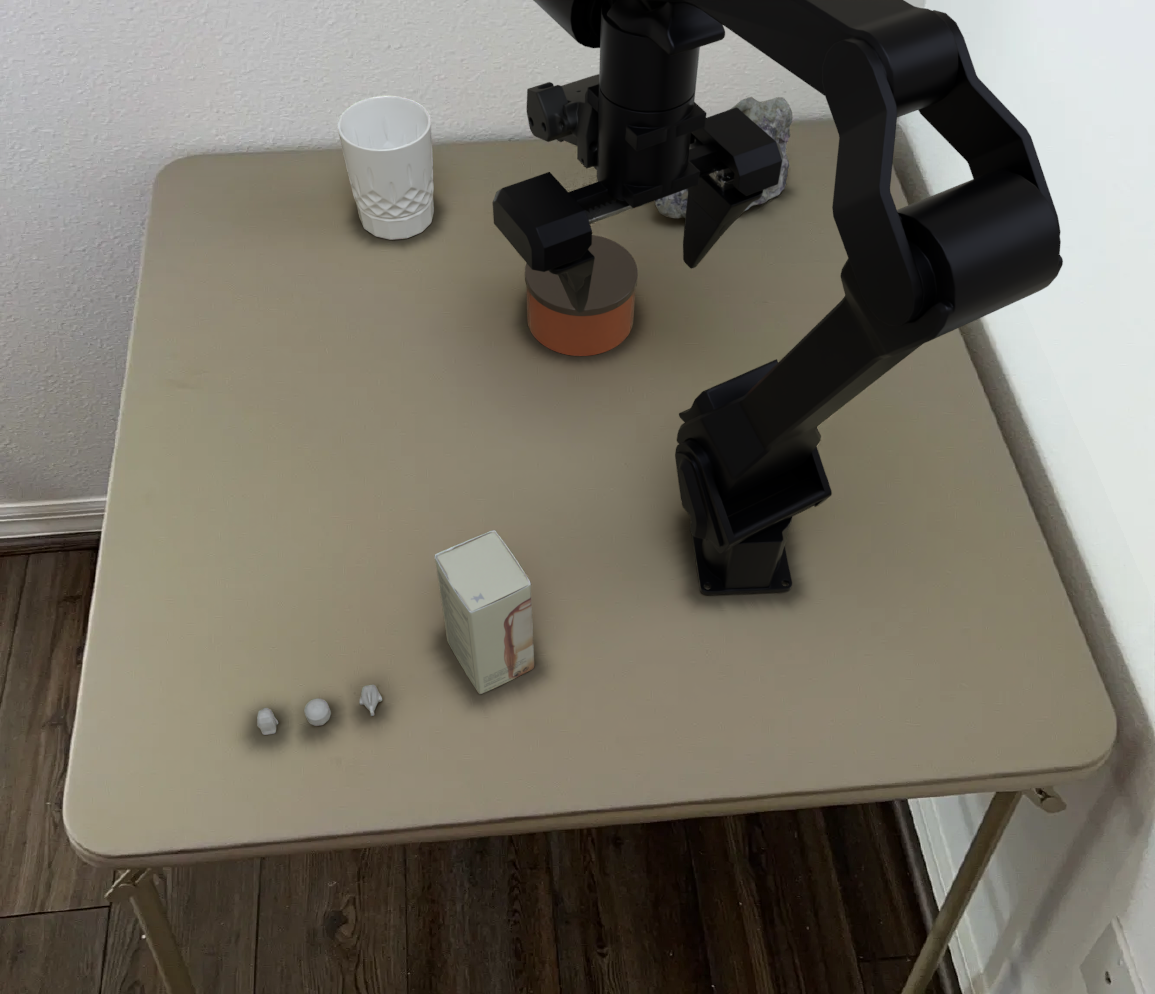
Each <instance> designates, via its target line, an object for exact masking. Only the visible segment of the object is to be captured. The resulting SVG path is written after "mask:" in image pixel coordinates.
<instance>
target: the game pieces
mask: <svg viewBox="0 0 1155 994" xmlns="http://www.w3.org/2000/svg"><path fill="white" fill-rule="evenodd" d="M382 701H383V697H382V696H381V694H380V692H379V689H378V687H377V686H376V684H374V683H373V684H368V685H364V686H362V689H361V693H360V697H359V700H358V703H359V705H360V706H365V708H366V709H367V710H368V711H369V714H370V716H371V717H374V716H375V714H376V713H375V710H376V708H377V705H378V703H380V702H382ZM331 715H332V711H331V709H330V706H329V703H328V702H327V701H326V700H325V699H324V698H320V697H319V698H318V697H316V698H313V699H311V700H309V701H308V702H307V703H306V704H305V706H304V716H305V717H306V720H307V722H308V723H309V724H310V725H312V726H314V727H318V726H324V725H325V724H326V723H328V721H329V720H330V719H331ZM277 725H279V721H278V719H277V718H276V717H275V714H274V712H273V710H272V709H271V708H268V707H262V709H259V711H258V712H257V718H256V726H257V728H259V729H260V732H261V733H262V735H264V736H267V735H268V736H269V735H273V734H275V733H277Z"/></svg>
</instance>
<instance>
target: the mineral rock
mask: <svg viewBox="0 0 1155 994" xmlns="http://www.w3.org/2000/svg"><path fill="white" fill-rule="evenodd" d="M736 107H737V108H739V109H740V110H741V111H742V112H743V113H744V114H745V115H747V116H748V117H749V118H750V119H751V120H752V121H753V122H755V123H756V124H757V125H758V126H759V127H760V128H761V129H763V130H764V131H765V132H766V133H767V134H768V135H769V136H771V137H772V138H773V139H774V140H775V141H776V142H777V143H779V144H780V147H781V151H782V154H783V162H782V168H781V173H780V178H779V182H778V184H777V185H775V186H772V187H769V188H767V189H764V190H763V194H762V196H761V198H760V199H758V200H756V201H754V202H752V203H751V204H750V205H749V206H748V207H747V208H746V210H745V211H748V210H749V209H750V208H751V207H753V206H756V205H762V204H765V203H767V201H769V200H771V199H773V198H776V197H777V196H779V195H780V194H781V193H782V192H783V191H784V190H785V188H786V186H787V178H788V173H789V168H790V161H789V155H788V154H787V145H788V142H789V138H790V137H791V129H790V128H791V125H792V122H793V110H792V108H791V106H790V104H789V102H788V101H787V99H786V98H785V97H783V96H777V97H773V98H770V99H767V100H763V101H762V100H761V101H759V100H758V99H756V98H754V97H753V96H749V97H745V98H743V99H741V100H740V101H738V102H737V103H736V104H735V105H734V106H733V107H731V108H729V109H728V110H730V109H733V108H736ZM687 197H688V189H685V190H683V191H680V192H677V193H674V194H672V195H669V196H666V197H664V198H661V199H658V200H655V201H654V206H655V207H656V208H657V211H658V213H659V214H660V215H662V216H664V217H667V218H670V219H671V218H672V219H681V218H684V219H685V217H686V207H687ZM745 211H744V212H745Z"/></svg>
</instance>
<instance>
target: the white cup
mask: <svg viewBox="0 0 1155 994" xmlns="http://www.w3.org/2000/svg"><path fill="white" fill-rule="evenodd" d="M336 124H337V125H336V127H337V133H338V138H339V141H340V146H341V150H342V154H343V159H344V163H345V164H344V165H345V168H346V173H347V175H348V180H349V183H350V184H349V185H350V187H351V191H352V196H353V200H354V201H355V203H356V209H357V213H358V217H359V219H360V222H361V225H362V227H363V229H364V230H365V231H367V232H368V233H370V234H371V235H373V236H374V237H377V238H381V239H386V240H390V241H392V240H393V241H394V240H404V239H409V238H412V237H414V236H417V235H419V234H421V233H423V232H424V231H425V230H426V229H427V228H428V227H429V226H430V225H431V224H432V221H433V218H434V213H435V204H434V184H435V183H434V182H435V181H434V155H433V137H432V134H433V133H432V117H431V115H430V113H429V111H428V109H427V108H426V107H425V106H424V105H422V104H421V103H419V102H417V101H416V100H413V99H411V98H408V97H404V96H401V95H400V96H399V95H388V94H387V95H386V94H385V95H376V96H370V97H366V98H363V99H361V100H358V101H356V102H354V103H352V104H350V105H349V106H348V107H346V108H345V109H344V110H343V111H342V113H340V115H339V117H338V119H337V123H336Z"/></svg>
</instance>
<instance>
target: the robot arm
mask: <svg viewBox="0 0 1155 994" xmlns="http://www.w3.org/2000/svg"><path fill="white" fill-rule="evenodd" d="M532 1H533V2H534V3H535V4H536V5H537V6H539V7H540V9H542V10H543V11H544V12H545V13H546V14H547V15H548V16H549V17H550V18H551V19H552V20H553V21H554V22H555V23H557V24H558V25H559V27H561V28H562V29H563V30H564V31H565V32H566V33H567V34H568V35H569V36H570V37H571V38H572V39H573V40H574V41H576V43H578V44H579V45H581V46H583V47H585V48H590V49H599V66H598V67H599V69H598V70H599V73H598V74H594V75H591V76H587V77H585V78H581V79H578V80H575V81H572V82H569V83H565V84H562V85H560V84H556V85H554V83H553V82H551V81H548V82H547V81H546V82H544V83H542V84H539V85H534V86H532V87H528V88H527V90H526V116H527V121H528V126H529V127H528V128H529V129H530V132H531V134H532V135H533V136H534V137H536V138H538V139H540V140H542V141H545V142H546V143H551V142H553V141H555V140H556V141H557V142H559V143H562V142H566V143H568V144H571V145H573V146H575V147H577V148H576V149H577V150H576V159H577V160H578V161H579V162H580V164H581V165H582V166H583V167H584V168H585V169H591V168H594V169H595V170H596V182H593V183H591V184H588V185H587V184H586V185H584V186H582V187H579V188H576V189H573V190H571V191H568V190H567V189H566V188H565V187H564V186H563V185H562V184H561V182H560V181H559V180H558V179H557V178H556V177H555V175H554V174H553V173H551V172H550V171H548V172H545V173H542V174H539V175H536V176H533V177H530V178H528V179H524V180H522V181H519V182H516V183H512V184H510V185H507V186H504V187H502V188H500V189H499V190H497V191H496V192H495V195H494V197H493V200H492V216H493V225H494V226H495V227H496V228H497V229H498V230H499V232H500V233H501V234H502V235H503V236H504V238H505V239H506V240H507V241H508V243H509V244H510V245H511V246H512V248H513V249H514V250H515V251H516V252H517V253H518V254H519V256H520V257H521V258H522V260H523V261H524V262H525V264H526V263H527V264H528V265H529V267H530V268H531V269H532V270H536V271H542V272H546V271H549V272H550V273H552V274H555V275H558V276H559V278H560V281H561V283H562V285H563V287H564V289H565V292H566V294H567V296H568V298H569V300H570V303H571V304H572V306H573V307H574V308H575V310H576V311H577V312H578V313H580V312H583V311H584V309H585V306H586V303H587V300H588V295H589V289H590V283H591V277H592V272H593V266H594V260H595V257H594V255H593V254H592V253H591V252H590V251H589V250H588V249H589V247H590V246H591V245H592V235H593V229H592V227H591V224H594V223H596V222H599V221H602V220H605V219H608V218H611V217H613V216H615V215H619V214H621V213H624V212H627V211H630V210H632V209H636V208H639V207H642V206H645V205H647V204H650V203H652V202H655V200H658V199H661V198H664V197H666V196H669V195H672V194H674V193H677V192H680V191H683V190H685V189H688V197H687V207H686V217H685V218H684V226H683V227H684V228H683V238H682V259H683V262H684V264H685V265H686V266H687V267H688V268H689V269H691V270H692V269H694V268H695V269H696V267H698V265H699V264H700V263H701V261H703V259H704V258H705V257H706V255H707V254H708V253H709V252H710V251H711V249H712V248H713V247H714V246H715V244H717V242H718V241H719V239H720V238H721V237H722V236H723V235H724V234H725V232H726V231H727V230H728V229H729V228H730V227H731V226H732V225H733V224H734V222H736V220H737V219H738V218H739V217H740V216H741V215H742V214H743V213H744V212H745V210H746V208H747V207H748V206H749V205H750V204H751V203H752V202H754V201H756V200H758V199H760V198H761V196H762V194H763V190H764V189H767V188H769V187H772V186H775V185H777V184H778V182H779V178H780V173H781V168H782V162H783V154H782V151H781V147H780V144H779V143H777V142H776V141H775V140H774V139H773V138H772V137H771V136H769V135H768V134H767V133H766V132H765V131H764V130H763V129H761V128H760V127H759V126H758V125H757V124H756V123H755V122H753V121H752V120H751V119H750V118H749V117H748V116H747V115H745V114H744V113H743V112H742V111H741V110H740V109H739V108H737V107H736V108H733V109H731V108H729V109H730V110H729V109H727V110H725V111H721V112H719V113H716V114H713V115H709V116H707V112H706V111H705V110H704V109H703V108H702V107H701V106H700V105H699V104H697V102H695V99H696V89H697V88H696V87H697V78H698V71H699V70H698V69H699V59H700V50H701V47H705V46H708V45H710V44H714V43H717V42H720V41H722V40H724V38H725V37H726V29H728V30H729V31H731V32H732V33H734V34H735V35H737V36H738V37H740V38H741V39H742V40H743V41H745V42H747V44H749V45H751V46H752V47H753V48H755V49H757V50H758V51H760V52H761V53H763V54H764V55H765V56H767V57H768V58H769V59H771V60H772V61H773V62H775V63H777V64H778V65H780V66H781V67H783V69H786V71H788V72H789V73H791V74H792V75H794V76H796V77H797V78H798V79H800V80H801V81H802V82H804V83H806V84H807V85H808V86H810V87H811V88H813V89H814V90H816V91H817V92H818V93H820V94H821V95H823V96H824V97H825V101H826V103H827V105H828V108H829V111H830V114H831V116H832V119H833V123H834V125H835V128H836V131H837V133H838V147H837V157H836V168H835V175H834V176H835V178H834V187H833V197H832V206H831V207H832V217H833V220H834V222H835V226H836V228H837V231H838V234H839V236H840V239H841V242H842V244H843V248H844V250H845V253H846V256H847V259H846V261H845V263H844V264H843V266H842V268H841V271H840V275H839V277H840V281H841V285H842V289H843V292H844V296H843V298H842V299H841V300H840V301H839V302H838V303H837V304H836V305H835V306H834V307H833V308H832V309H831V310H830V311H828V313H827V314H826V315H825V316H824V317H823V318H822V319H821V320H820V321H819V322H817V324H816V325H815V326H814V327H813V328H812V329H811V330H809V332H808V333H807V334H806V335H804V336H803V338H802V339H800V340H799V341H798V342H797V343H796V345H794V346H793V347H792V348H791V349H790V351H788V352H787V353H786V354H785V355H784V356H783V357H782V358H781V359H780V360H779V361H778V359H777V358H776V359H773V360H771V361H769V362H767V363H764V364H761V365H760V366H757V367H755V368H753V369H751V370H748V371H746V372H744V373H742V374H739V375H736V376H735V377H732V378H730V379H727V380H726V381H723V382H721V383H718V384H716V385H714V386H712V387H710V388H707V389H705V390H703V391H701V392H700V393H699V394H698V395H697V397H696V398H694V400H693V402H692V404H691V407H690V408H688V409H685V410H683V411H681V412H678V417H679V419H681V421H682V422H683V423H682V424H681V425H680V426H679V428H678V431H677V435H676V442H677V445H676V447H675V450H674V451H675V453H674V458H675V459H674V460H675V465H676V473H677V482H678V488H679V489H678V490H679V496H680V501H681V506H682V508H683V509H684V510H685V512H686V513H687V514H688V516H689V521H690V526H689V532H690V533H691V539H692V546H693V552H694V560H695V566H696V573H697V579H698V581H697V582H698V587H699V591H700V593H701V594H702V595H705V596H718V595H721V596H723V595H724V596H725V595H740V594H741V595H744V594H745V595H746V594H747V595H748V594H765V593H766V594H769V593H772V594H773V593H787V592H789V591H791V589H792V588H793V587H792V586H793V581H792V580H793V579H792V575H791V571H790V565H789V560H788V556H787V550H786V546H785V545H786V542H787V539H788V535H789V532H790V527H791V524H792V520H793V517H795V516H796V515H799V514H801V513H803V512H806V511H807V510H809V509H811V508H813V507H816V508H817V507H818V506H819V505H822V504H823V503H825V501H827V500H828V499H829V498H830V497H831V496H832V494H833V492H832V488H831V485H830V483H829V479H828V477H827V473H826V470H825V467H824V465H823V461H822V458H821V456H820V452H819V449H818V445H819V443H820V442H821V440H822V435H821V432H820V431H819V429H818V427H819V426H820V425H821V424H822V423H823V422H825V421H826V420H827V419H829V418H830V417H831V416H832V415H834V414H835V413H836V412H838V411H839V410H840V409H841V408H843V407H844V406H845V405H847V404H848V403H850V402H851V401H852V400H853V399H855V398H856V397H857V396H859V394H861V393H862V392H863V391H865V390H866V389H867V388H868V387H870V386H871V385H872V384H873V383H875V382H876V381H877V380H879V379H880V378H881V377H883V376H884V375H885V374H887V373H888V372H889V371H890V370H891V369H894V367H895V366H897V365H898V364H899V363H901V362H902V361H903V360H904V359H906V358H907V357H909V356H910V355H911V354H912V353H914V352H915V351H916V350H918V349H919V348H920V347H921V346H922V345H924V344H926V343H929V342H931V341H933V340H936V339H937V338H939V337H942V336H943V335H946V334H949V333H951V332H953V331H955V330H957V329H960V328H961V327H963V326H966V325H968V324H971V323H972V322H975V321H977V320H979V319H982V318H984V317H986V316H988V315H990V314H992V313H995V312H997V311H999V310H1001V309H1003V308H1006V307H1008V306H1010V305H1012V304H1014V303H1016V302H1019V301H1021V300H1023V299H1026V298H1027V297H1031V296H1032V295H1034V294H1036V293H1039V292H1041V291H1042V290H1044V289H1046V288H1047V287H1049V286H1050V285H1051V284H1052V283H1053V282H1054V280H1055V279H1056V278H1057V277H1058V276H1059V273H1060V272H1061V269H1062V267H1063V265H1064V260H1063V256H1061V242H1062V241H1061V227H1060V220H1059V216H1058V212H1057V210H1056V206H1055V204H1054V200H1053V198H1052V195H1051V193H1050V188H1049V186H1048V182H1047V180H1046V177H1045V174H1044V171H1043V168H1042V165H1041V161H1040V159H1039V157H1038V153H1037V150H1036V147H1035V145H1034V141H1033V139H1032V136H1031V134H1030V132H1029V131H1028V128H1027V127H1025V125H1023V123H1022V122H1020V120H1019V119H1018V118H1017V117H1016V116H1015V115H1014V114H1013V113H1012V112H1011V110H1009V109H1008V107H1007V106H1006V105H1005V104H1003V102H1002V101H1001V100H1000V99H999V98H998V97H997V96H996V95H995V94H994V93H993V91H991V89H989V87H987V85H986V84H985V83H984V82H983V81H982V80H981V79H980V77H978V74H977V72H976V69H975V66H974V63H973V60H972V58H971V55H970V51H969V48H968V46H967V43H966V40H965V36H964V35H963V33H962V31H961V29H960V27H959V25H958V23H957V22H956V21H955V20H954V19H953V18H952V17H951V16H950V15H949V14H948V13H947V12H943V11H940V10H936V9H933V10H931V9H930V8H925V7H918V6H914V5H913V4H911V3H909V2H907V1H906V0H532ZM725 28H726V29H725ZM916 111H918V112H919V114H920V115H921V116H922V117H923V119H924V120H926V121H927V122H928V123H929V125H930V126H931V127H932V128H934V129H935V131H936V132H938V133H939V135H941V137H943V139H944V140H945V141H946V142H947V143H948V144H949V145H950V146H951V147H952V148H953V149H954V150H955V151H956V153H958V154H959V155H960V156H961V157H962V158H963V159H964V160H965V161H966V163H967V165H968V168H969V171H970V174H971V176H972V179H971V180H968V181H965V182H962V183H961V184H957V185H956V186H953V187H951V188H948V189H946V190H945V189H944V190H943V191H941V192H938V193H935V194H932V195H931V196H928V197H925V198H923V199H920V200H918V201H915V202H912V203H910V204H908V205H905V206H903V207H900V208H897V207H896V203H895V201H894V197H893V195H892V193H891V183H892V171H893V163H894V153H895V141H896V132H897V121H898V118H900V117H902V116H905V115H908V114H912V113H914V112H916ZM746 211H747V210H746ZM784 584H786V585H784ZM706 587H708V588H706Z"/></svg>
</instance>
